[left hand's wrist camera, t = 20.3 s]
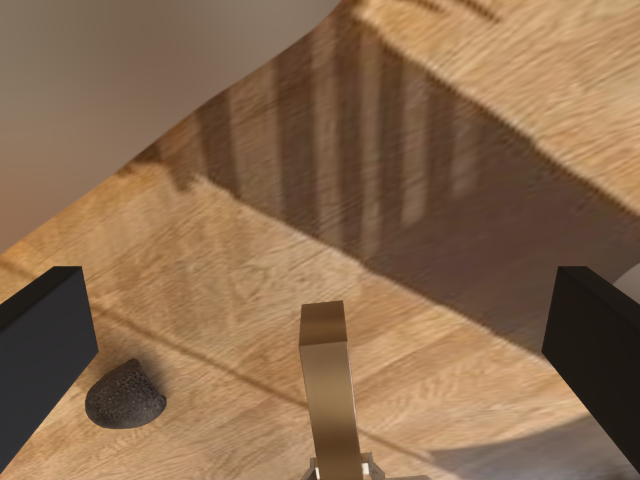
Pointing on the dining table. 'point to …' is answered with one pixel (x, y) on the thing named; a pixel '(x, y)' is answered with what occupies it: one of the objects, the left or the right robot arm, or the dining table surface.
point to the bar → (330, 390)
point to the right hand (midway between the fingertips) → (341, 458)
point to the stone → (124, 399)
